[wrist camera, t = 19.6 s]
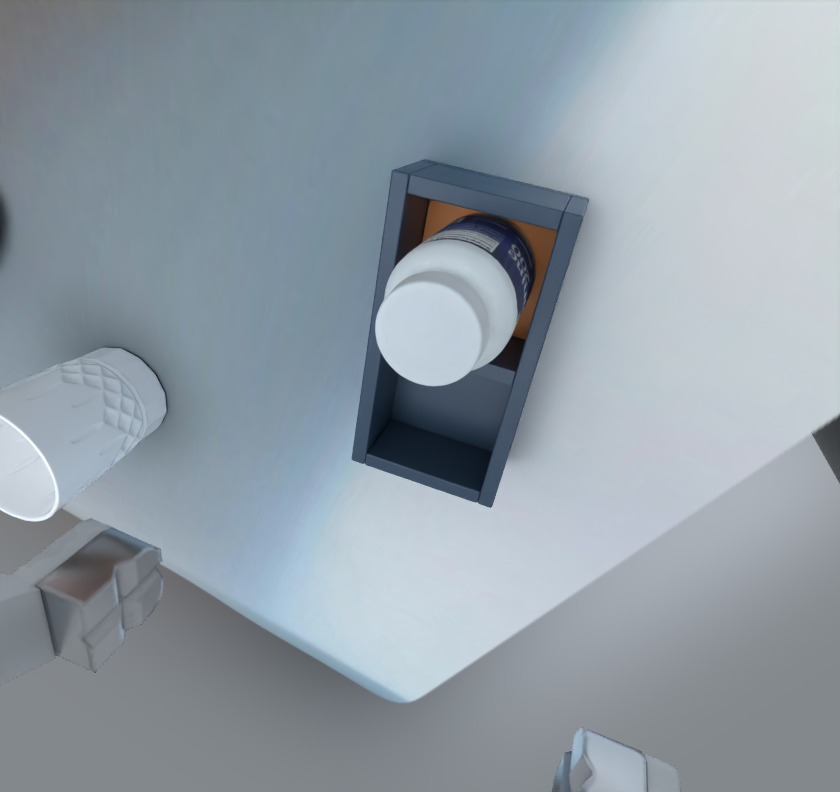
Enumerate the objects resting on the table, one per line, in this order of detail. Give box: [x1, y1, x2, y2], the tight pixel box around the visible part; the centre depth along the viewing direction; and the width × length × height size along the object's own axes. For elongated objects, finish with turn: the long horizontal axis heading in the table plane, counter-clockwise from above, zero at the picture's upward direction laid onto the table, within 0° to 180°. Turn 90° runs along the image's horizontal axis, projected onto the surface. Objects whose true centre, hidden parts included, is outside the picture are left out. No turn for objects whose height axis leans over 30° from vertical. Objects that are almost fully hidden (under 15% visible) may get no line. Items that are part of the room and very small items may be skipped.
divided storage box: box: [352, 160, 589, 508], centre depth 29 cm, size 8×15×5 cm, turn 170°
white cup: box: [0, 347, 167, 521], centre depth 37 cm, size 8×8×10 cm
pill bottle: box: [375, 213, 536, 386], centre depth 24 cm, size 5×5×10 cm
